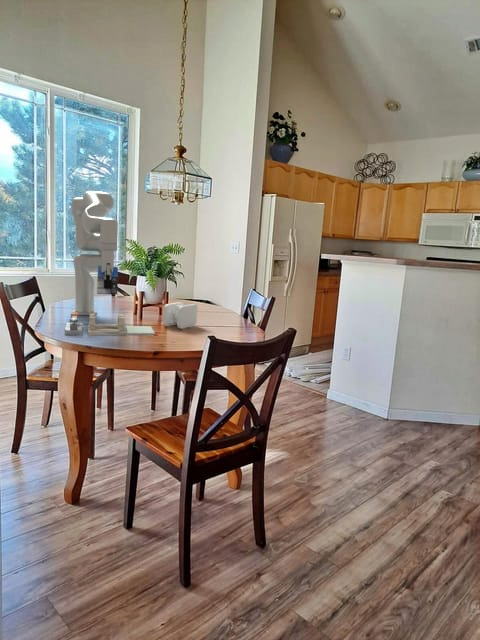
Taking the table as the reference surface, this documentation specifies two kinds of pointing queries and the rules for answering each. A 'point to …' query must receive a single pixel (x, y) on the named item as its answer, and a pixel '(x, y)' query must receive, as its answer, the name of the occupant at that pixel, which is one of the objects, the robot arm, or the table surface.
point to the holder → (106, 327)
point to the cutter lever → (74, 318)
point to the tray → (139, 330)
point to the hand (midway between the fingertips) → (107, 287)
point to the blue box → (113, 283)
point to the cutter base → (73, 329)
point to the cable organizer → (180, 315)
